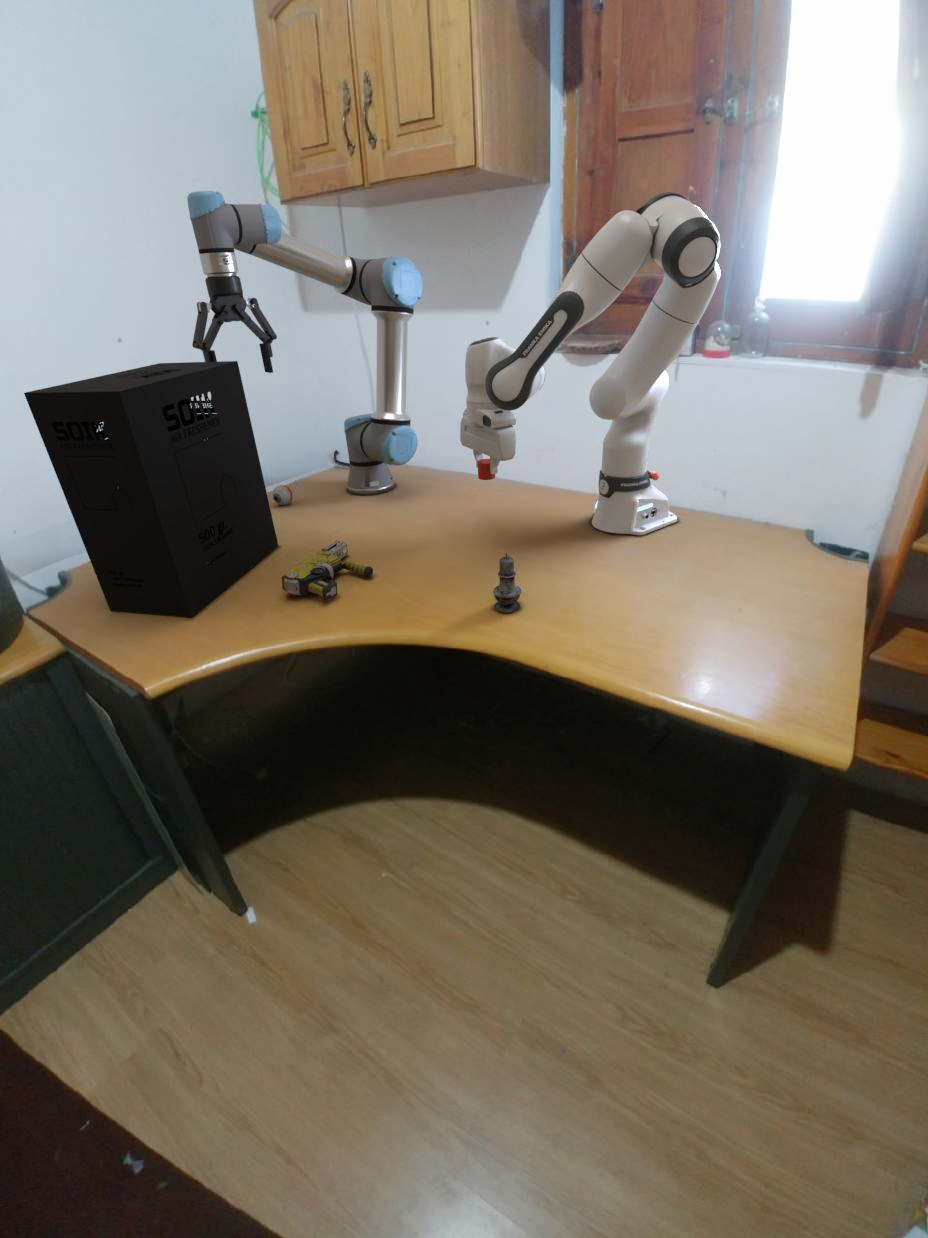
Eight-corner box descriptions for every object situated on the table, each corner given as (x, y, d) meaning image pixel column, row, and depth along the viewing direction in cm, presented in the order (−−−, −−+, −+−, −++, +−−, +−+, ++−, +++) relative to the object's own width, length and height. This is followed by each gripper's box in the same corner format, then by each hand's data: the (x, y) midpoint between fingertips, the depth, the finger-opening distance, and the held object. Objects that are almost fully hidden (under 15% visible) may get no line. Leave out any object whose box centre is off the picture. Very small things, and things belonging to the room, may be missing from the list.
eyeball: (269, 507, 186) (265, 488, 183) (282, 500, 191) (278, 481, 188) (285, 508, 183) (282, 489, 180) (298, 502, 188) (294, 483, 185)
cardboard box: (191, 617, 126) (119, 391, 104) (110, 610, 131) (23, 392, 108) (278, 546, 158) (237, 360, 135) (210, 542, 162) (159, 363, 140)
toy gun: (389, 548, 145) (334, 537, 149) (339, 588, 125) (277, 575, 129) (389, 566, 147) (335, 555, 151) (340, 608, 127) (279, 595, 131)
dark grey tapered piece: (519, 614, 120) (519, 559, 114) (490, 612, 122) (489, 558, 116) (523, 600, 125) (523, 546, 119) (495, 598, 127) (493, 545, 121)
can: (474, 478, 150) (474, 462, 148) (484, 473, 153) (483, 457, 151) (489, 480, 148) (489, 464, 146) (498, 476, 151) (498, 459, 149)
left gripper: (173, 277, 126) (201, 385, 136) (279, 272, 140) (296, 369, 151) (159, 278, 130) (187, 382, 141) (263, 273, 145) (281, 368, 156)
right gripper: (452, 408, 149) (455, 463, 156) (497, 422, 134) (498, 483, 141) (474, 404, 152) (476, 459, 159) (520, 418, 136) (520, 478, 143)
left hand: (244, 376), depth 146 cm, fingers open, 13 cm apart
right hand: (487, 470), depth 150 cm, fingers closed on can, 4 cm apart
